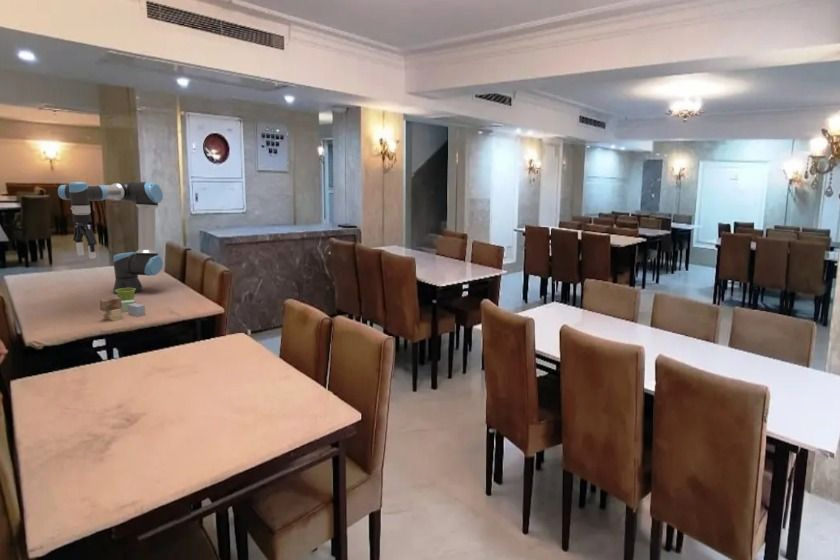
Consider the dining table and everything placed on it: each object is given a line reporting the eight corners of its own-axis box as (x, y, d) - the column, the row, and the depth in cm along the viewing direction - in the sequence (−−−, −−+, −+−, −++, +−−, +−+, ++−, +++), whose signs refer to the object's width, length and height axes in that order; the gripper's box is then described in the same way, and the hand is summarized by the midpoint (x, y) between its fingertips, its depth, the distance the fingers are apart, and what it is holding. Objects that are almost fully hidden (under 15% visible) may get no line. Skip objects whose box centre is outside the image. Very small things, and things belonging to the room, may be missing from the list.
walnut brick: (104, 311, 243) (103, 301, 242) (100, 310, 245) (99, 300, 244) (122, 308, 249) (121, 298, 248) (117, 306, 252) (116, 297, 251)
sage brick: (118, 312, 259) (117, 303, 258) (117, 310, 262) (116, 301, 261) (135, 310, 263) (134, 301, 262) (134, 308, 267) (134, 299, 266)
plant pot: (123, 302, 277) (122, 287, 275) (140, 303, 277) (139, 287, 275) (113, 307, 268) (111, 291, 266) (130, 307, 268) (128, 291, 266)
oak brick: (103, 318, 248) (102, 309, 247) (111, 316, 252) (110, 307, 251) (113, 321, 245) (112, 311, 244) (121, 319, 248) (120, 309, 247)
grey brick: (128, 314, 257) (127, 304, 256) (136, 312, 260) (135, 303, 259) (137, 316, 253) (136, 307, 252) (145, 314, 256) (144, 305, 255)
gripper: (62, 212, 252) (67, 254, 256) (84, 216, 238) (89, 260, 242) (79, 211, 258) (84, 253, 262) (101, 215, 244) (106, 258, 248)
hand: (86, 256), depth 252 cm, fingers open, 13 cm apart
